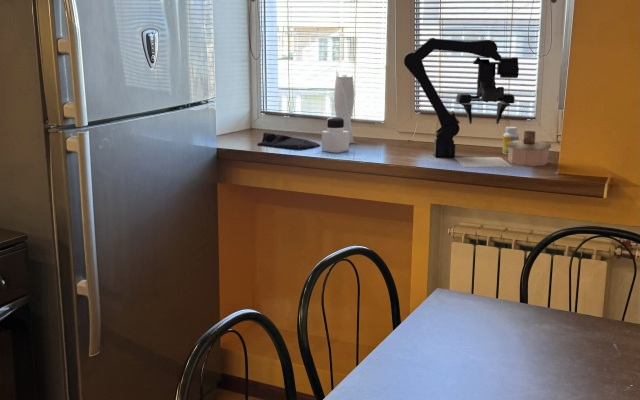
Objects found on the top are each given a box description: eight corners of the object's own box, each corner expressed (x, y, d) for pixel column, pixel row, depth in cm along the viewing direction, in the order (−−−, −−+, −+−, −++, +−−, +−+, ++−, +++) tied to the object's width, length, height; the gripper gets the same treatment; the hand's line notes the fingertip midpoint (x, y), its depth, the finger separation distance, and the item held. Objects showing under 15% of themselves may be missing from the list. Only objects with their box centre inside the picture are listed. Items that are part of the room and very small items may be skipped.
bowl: (514, 167, 248) (516, 149, 247) (505, 160, 260) (506, 143, 259) (551, 167, 249) (552, 149, 247) (539, 160, 260) (541, 142, 259)
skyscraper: (329, 142, 294) (329, 69, 287) (341, 140, 300) (342, 68, 293) (345, 145, 289) (345, 70, 282) (357, 142, 294) (358, 69, 288)
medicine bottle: (349, 150, 278) (349, 117, 275) (336, 153, 273) (336, 119, 270) (334, 148, 283) (334, 116, 280) (321, 150, 277) (321, 117, 275)
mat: (463, 168, 247) (463, 166, 247) (453, 158, 262) (453, 157, 262) (512, 168, 247) (512, 166, 247) (499, 158, 263) (499, 157, 263)
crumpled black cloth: (296, 152, 276) (296, 139, 275) (253, 146, 290) (253, 133, 289) (324, 147, 287) (324, 134, 286) (281, 140, 301) (281, 129, 300)
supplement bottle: (509, 152, 275) (511, 125, 273) (520, 154, 271) (522, 127, 269) (499, 153, 273) (500, 126, 270) (510, 155, 268) (512, 128, 266)
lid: (514, 149, 246) (514, 135, 245) (502, 142, 259) (503, 128, 258) (556, 149, 246) (558, 134, 245) (542, 142, 260) (543, 128, 259)
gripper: (464, 79, 249) (461, 127, 253) (520, 79, 250) (517, 127, 253) (456, 77, 260) (454, 122, 263) (511, 77, 260) (508, 122, 264)
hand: (483, 123), depth 261 cm, fingers open, 9 cm apart
